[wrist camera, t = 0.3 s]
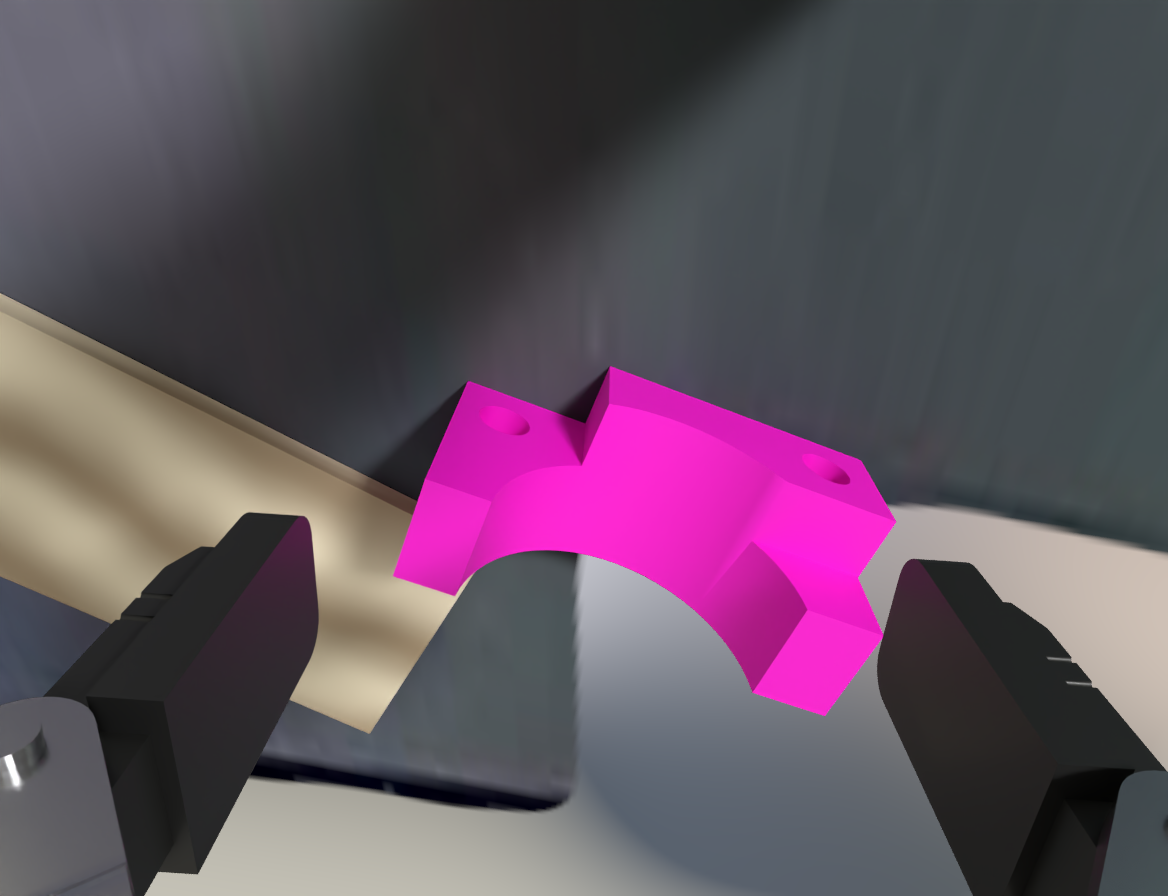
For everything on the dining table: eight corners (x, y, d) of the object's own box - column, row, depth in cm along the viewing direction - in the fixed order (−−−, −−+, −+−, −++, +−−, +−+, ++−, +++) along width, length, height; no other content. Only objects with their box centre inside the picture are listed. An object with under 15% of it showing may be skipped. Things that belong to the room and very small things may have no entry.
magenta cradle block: (859, 457, 30) (928, 576, 23) (782, 579, 33) (824, 715, 26) (489, 318, 28) (449, 405, 21) (440, 460, 31) (392, 576, 24)
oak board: (-3, 291, 28) (-23, 300, 27) (491, 538, 32) (487, 552, 31) (-59, 530, 33) (-77, 543, 32) (375, 717, 37) (369, 733, 36)
